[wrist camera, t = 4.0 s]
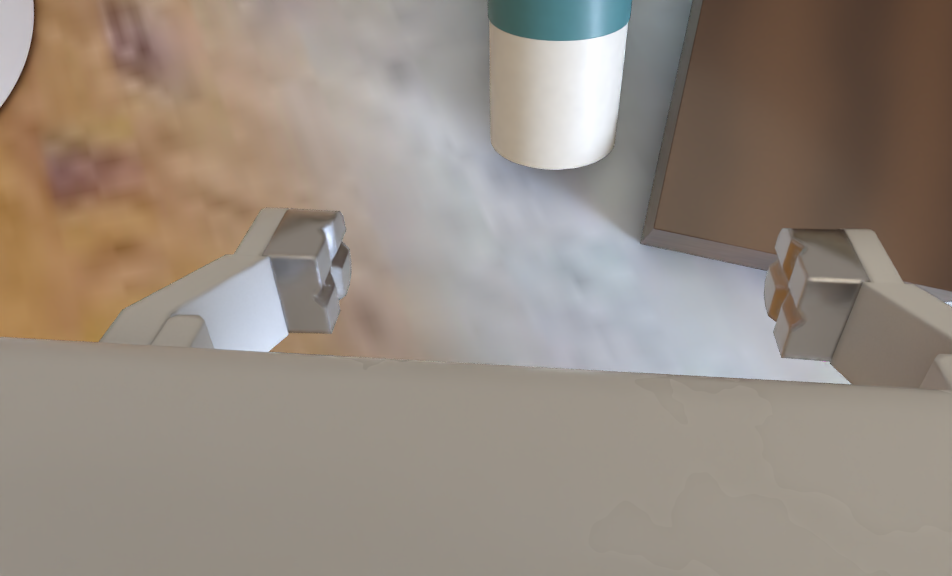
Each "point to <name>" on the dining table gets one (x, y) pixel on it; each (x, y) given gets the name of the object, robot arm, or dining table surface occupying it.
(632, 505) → the robot arm
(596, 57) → the paper roll
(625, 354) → the dining table surface
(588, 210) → the dining table surface
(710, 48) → the chopping block
